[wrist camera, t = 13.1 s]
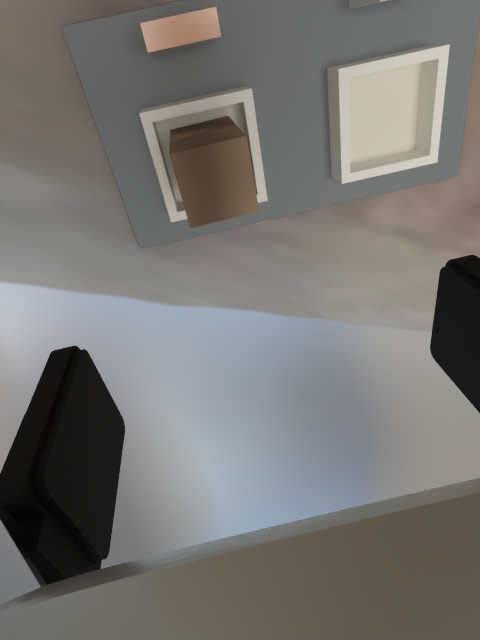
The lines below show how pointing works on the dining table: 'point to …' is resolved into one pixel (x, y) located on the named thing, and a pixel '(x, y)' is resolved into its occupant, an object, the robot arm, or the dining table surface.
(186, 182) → the walnut plug
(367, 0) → the pale grey tag
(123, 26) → the tag board
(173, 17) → the terracotta tag
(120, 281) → the dining table surface
